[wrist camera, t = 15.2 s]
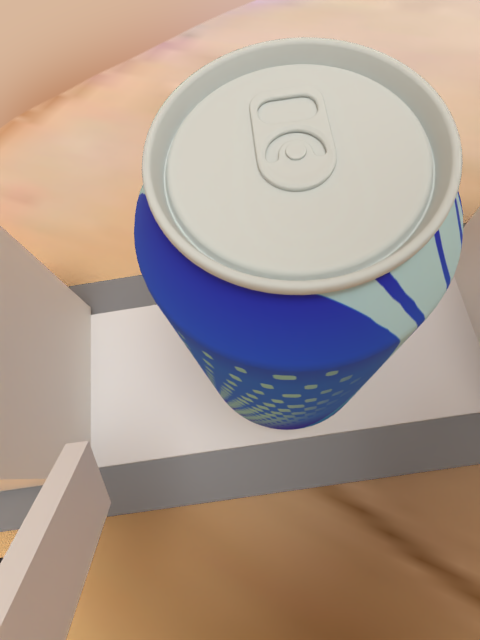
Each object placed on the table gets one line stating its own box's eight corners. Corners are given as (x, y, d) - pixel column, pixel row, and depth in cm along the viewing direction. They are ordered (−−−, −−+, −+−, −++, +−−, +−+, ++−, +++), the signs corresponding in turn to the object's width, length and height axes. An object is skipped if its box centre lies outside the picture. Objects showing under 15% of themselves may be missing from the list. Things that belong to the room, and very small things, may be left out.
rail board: (548, 219, 27) (732, 44, 16) (654, 438, 22) (1030, 401, 11) (-13, 308, 28) (-197, 202, 17) (-36, 536, 23) (-317, 590, 12)
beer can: (386, 334, 23) (578, 83, 8) (310, 464, 21) (390, 437, 6) (261, 266, 26) (240, -28, 11) (182, 378, 23) (16, 206, 9)
